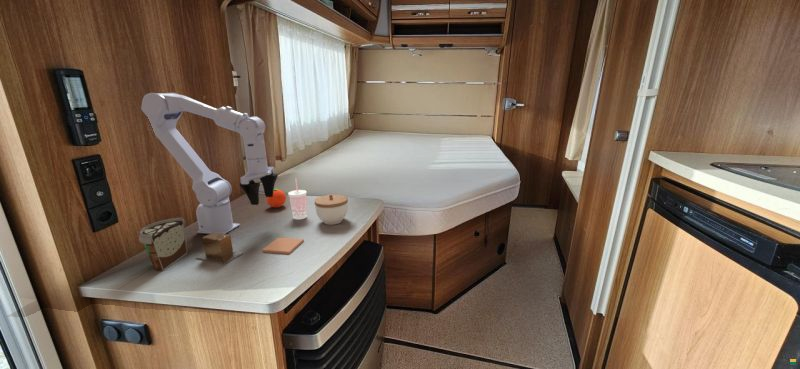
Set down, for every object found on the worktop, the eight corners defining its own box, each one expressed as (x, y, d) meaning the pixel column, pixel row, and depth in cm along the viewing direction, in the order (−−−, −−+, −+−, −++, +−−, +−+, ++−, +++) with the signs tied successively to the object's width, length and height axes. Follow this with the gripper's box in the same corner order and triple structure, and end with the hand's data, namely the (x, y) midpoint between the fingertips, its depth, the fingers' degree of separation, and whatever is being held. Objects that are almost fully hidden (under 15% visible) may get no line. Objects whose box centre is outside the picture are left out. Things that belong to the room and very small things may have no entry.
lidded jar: (347, 226, 106) (345, 198, 103) (313, 228, 105) (310, 200, 103) (350, 214, 116) (348, 189, 113) (319, 216, 115) (317, 190, 113)
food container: (169, 250, 92) (161, 217, 89) (191, 250, 92) (184, 216, 89) (133, 274, 80) (123, 236, 77) (158, 274, 80) (149, 236, 77)
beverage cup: (311, 217, 114) (307, 178, 110) (293, 221, 111) (289, 181, 107) (305, 212, 119) (301, 175, 115) (288, 216, 116) (284, 177, 112)
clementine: (271, 203, 130) (268, 186, 128) (289, 202, 130) (287, 185, 128) (265, 210, 122) (262, 192, 120) (284, 209, 123) (282, 191, 121)
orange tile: (262, 249, 90) (289, 251, 88) (278, 237, 97) (303, 239, 96) (262, 253, 90) (289, 255, 88) (279, 240, 98) (303, 242, 96)
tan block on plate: (196, 259, 87) (192, 238, 85) (215, 249, 93) (212, 229, 91) (225, 265, 84) (221, 243, 82) (243, 254, 89) (240, 234, 87)
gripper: (253, 162, 92) (260, 208, 95) (281, 153, 106) (286, 194, 109) (231, 162, 93) (238, 207, 97) (261, 153, 107) (266, 193, 111)
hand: (262, 200), depth 103 cm, fingers open, 7 cm apart
